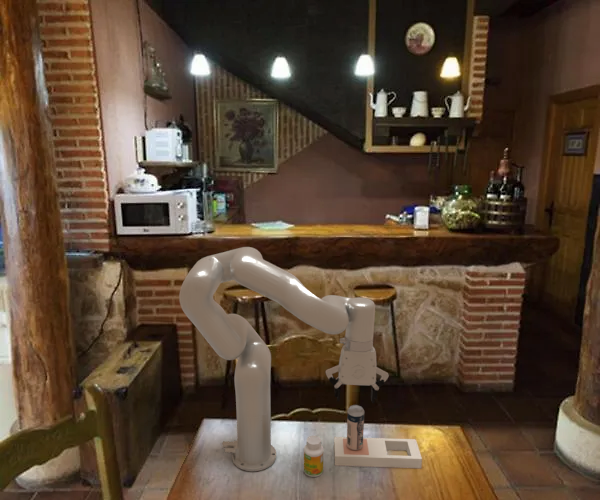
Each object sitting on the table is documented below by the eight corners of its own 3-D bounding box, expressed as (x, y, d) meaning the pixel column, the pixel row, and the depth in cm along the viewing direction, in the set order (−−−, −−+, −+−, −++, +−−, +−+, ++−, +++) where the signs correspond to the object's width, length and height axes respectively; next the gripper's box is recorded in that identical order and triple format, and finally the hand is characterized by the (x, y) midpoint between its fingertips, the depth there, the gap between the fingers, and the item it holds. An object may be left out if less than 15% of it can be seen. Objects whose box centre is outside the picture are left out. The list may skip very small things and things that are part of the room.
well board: (334, 465, 136) (335, 455, 135) (334, 445, 144) (334, 436, 144) (421, 468, 135) (422, 458, 134) (415, 448, 143) (415, 438, 143)
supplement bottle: (300, 474, 132) (301, 443, 130) (307, 462, 137) (307, 432, 134) (319, 479, 130) (320, 447, 128) (325, 467, 135) (326, 436, 133)
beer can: (362, 452, 136) (363, 414, 133) (345, 450, 137) (346, 412, 134) (363, 442, 141) (365, 405, 138) (347, 440, 142) (348, 403, 139)
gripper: (327, 347, 128) (324, 405, 132) (392, 350, 128) (388, 408, 132) (326, 336, 136) (324, 391, 140) (388, 338, 135) (384, 394, 139)
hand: (355, 399), depth 136 cm, fingers open, 9 cm apart
